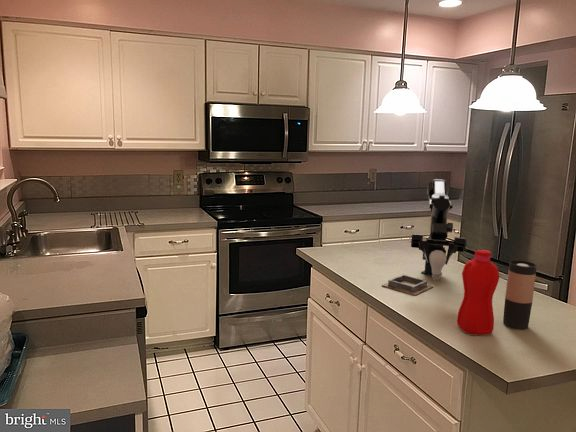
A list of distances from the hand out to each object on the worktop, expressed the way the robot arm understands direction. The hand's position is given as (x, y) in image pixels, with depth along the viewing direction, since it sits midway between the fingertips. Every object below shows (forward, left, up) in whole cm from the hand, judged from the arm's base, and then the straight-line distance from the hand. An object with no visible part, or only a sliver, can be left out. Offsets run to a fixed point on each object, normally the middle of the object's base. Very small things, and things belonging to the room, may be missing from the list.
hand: (437, 263), depth 168 cm
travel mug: (+2, +29, -13) cm, 32 cm away
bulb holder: (-5, -13, -13) cm, 20 cm away
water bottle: (+15, +21, -13) cm, 29 cm away
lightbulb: (-1, -1, -7) cm, 7 cm away
